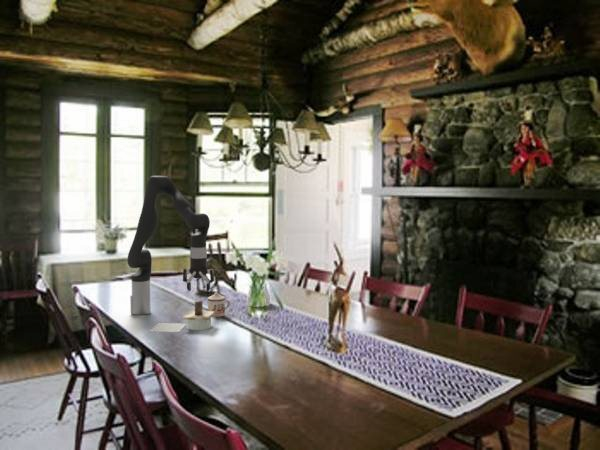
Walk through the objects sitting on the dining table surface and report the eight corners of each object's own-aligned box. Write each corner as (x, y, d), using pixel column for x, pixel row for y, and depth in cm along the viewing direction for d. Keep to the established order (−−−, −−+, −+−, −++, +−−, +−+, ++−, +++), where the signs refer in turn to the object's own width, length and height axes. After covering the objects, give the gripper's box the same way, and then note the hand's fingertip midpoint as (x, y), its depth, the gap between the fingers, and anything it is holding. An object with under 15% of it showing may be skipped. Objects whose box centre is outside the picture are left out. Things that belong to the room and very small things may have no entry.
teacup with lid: (212, 318, 261) (211, 295, 260) (204, 314, 268) (204, 292, 267) (233, 314, 267) (233, 292, 266) (225, 311, 275) (225, 289, 274)
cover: (182, 319, 237) (182, 304, 237) (189, 312, 249) (189, 298, 248) (208, 320, 236) (208, 304, 236) (214, 313, 248) (214, 299, 248)
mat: (148, 332, 236) (148, 331, 235) (158, 323, 249) (158, 322, 249) (178, 333, 235) (178, 331, 235) (187, 324, 249) (187, 323, 249)
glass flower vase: (242, 305, 288) (242, 273, 286) (254, 300, 299) (254, 270, 298) (261, 308, 282) (261, 275, 281) (273, 303, 293) (274, 272, 292)
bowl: (184, 330, 238) (184, 319, 238) (190, 324, 249) (190, 313, 248) (207, 331, 237) (207, 319, 237) (213, 324, 248) (212, 313, 248)
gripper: (181, 257, 237) (181, 292, 238) (211, 258, 236) (211, 293, 238) (185, 255, 245) (185, 288, 246) (215, 255, 244) (215, 289, 245)
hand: (198, 290), depth 242 cm, fingers open, 8 cm apart
